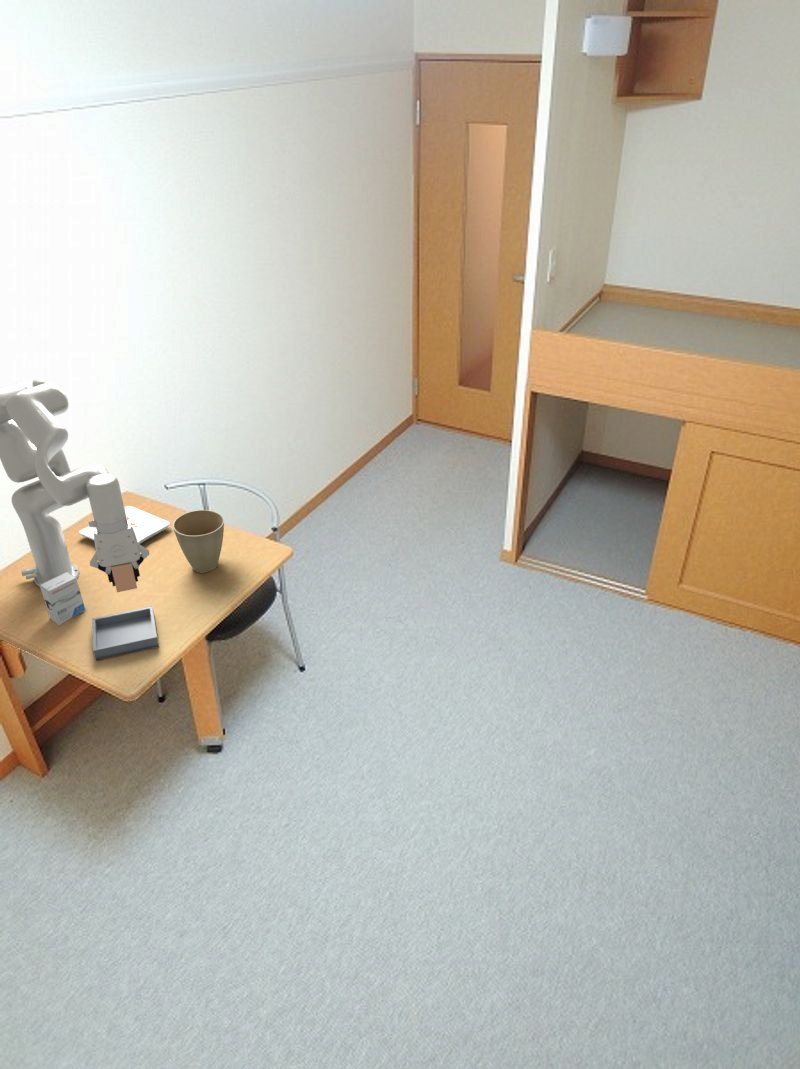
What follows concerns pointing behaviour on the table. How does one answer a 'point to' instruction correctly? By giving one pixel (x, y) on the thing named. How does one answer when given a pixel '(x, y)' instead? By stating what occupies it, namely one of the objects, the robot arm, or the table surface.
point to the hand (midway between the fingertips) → (125, 580)
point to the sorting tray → (124, 633)
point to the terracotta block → (124, 577)
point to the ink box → (62, 597)
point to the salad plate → (137, 524)
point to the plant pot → (200, 538)
